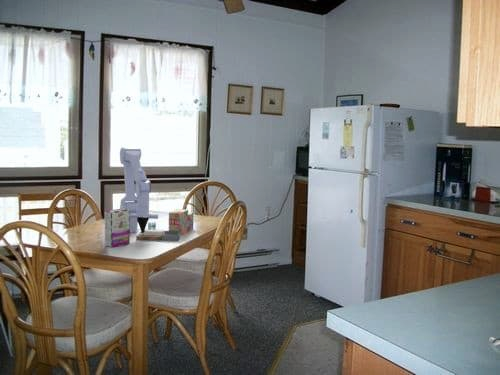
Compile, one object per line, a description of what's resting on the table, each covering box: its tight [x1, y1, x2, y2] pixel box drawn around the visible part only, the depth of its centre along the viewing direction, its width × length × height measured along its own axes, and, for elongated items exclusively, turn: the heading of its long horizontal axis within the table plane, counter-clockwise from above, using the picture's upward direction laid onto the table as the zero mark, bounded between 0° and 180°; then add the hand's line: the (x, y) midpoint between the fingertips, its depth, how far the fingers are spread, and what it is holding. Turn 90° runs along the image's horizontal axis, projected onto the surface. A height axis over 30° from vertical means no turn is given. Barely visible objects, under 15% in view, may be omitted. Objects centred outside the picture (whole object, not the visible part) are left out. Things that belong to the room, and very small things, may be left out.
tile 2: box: [153, 229, 165, 236], centre depth 235 cm, size 4×4×2 cm
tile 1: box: [144, 228, 155, 235], centre depth 235 cm, size 4×4×2 cm
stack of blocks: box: [168, 208, 194, 237], centre depth 253 cm, size 21×6×12 cm, turn 168°
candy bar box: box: [104, 208, 131, 248], centre depth 218 cm, size 11×5×16 cm, turn 148°
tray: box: [161, 230, 181, 242], centre depth 236 cm, size 8×10×3 cm
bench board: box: [135, 231, 164, 242], centre depth 235 cm, size 12×11×2 cm
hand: (142, 232), depth 235 cm, fingers closed
